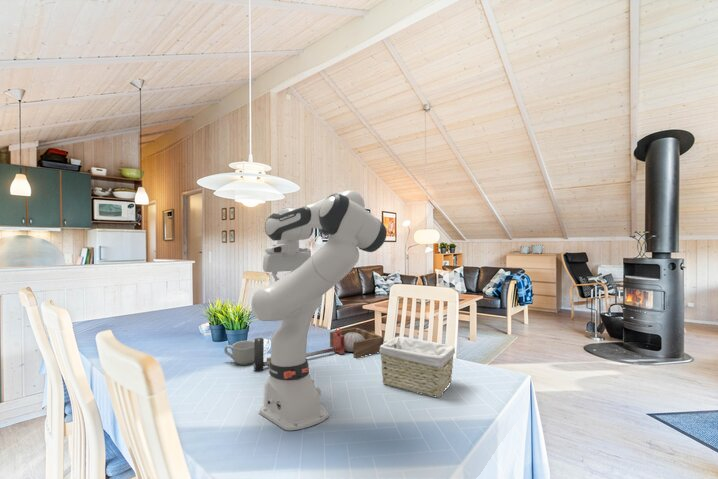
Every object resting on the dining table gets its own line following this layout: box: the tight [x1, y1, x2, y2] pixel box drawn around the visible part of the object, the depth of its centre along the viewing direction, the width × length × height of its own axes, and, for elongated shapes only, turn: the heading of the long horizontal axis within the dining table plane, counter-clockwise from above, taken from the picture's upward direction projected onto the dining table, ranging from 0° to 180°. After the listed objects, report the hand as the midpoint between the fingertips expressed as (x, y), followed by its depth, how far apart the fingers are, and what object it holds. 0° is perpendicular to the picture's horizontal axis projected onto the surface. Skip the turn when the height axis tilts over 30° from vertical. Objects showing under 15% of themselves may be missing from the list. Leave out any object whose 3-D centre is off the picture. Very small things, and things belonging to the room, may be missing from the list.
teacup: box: [223, 340, 254, 366], centre depth 150 cm, size 14×11×8 cm
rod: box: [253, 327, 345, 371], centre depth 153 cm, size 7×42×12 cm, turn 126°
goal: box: [329, 327, 384, 359], centre depth 169 cm, size 22×16×7 cm
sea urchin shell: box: [344, 332, 365, 353], centre depth 169 cm, size 13×14×8 cm
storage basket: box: [379, 336, 456, 398], centre depth 128 cm, size 24×16×15 cm
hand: (288, 282), depth 142 cm, fingers open, 8 cm apart
